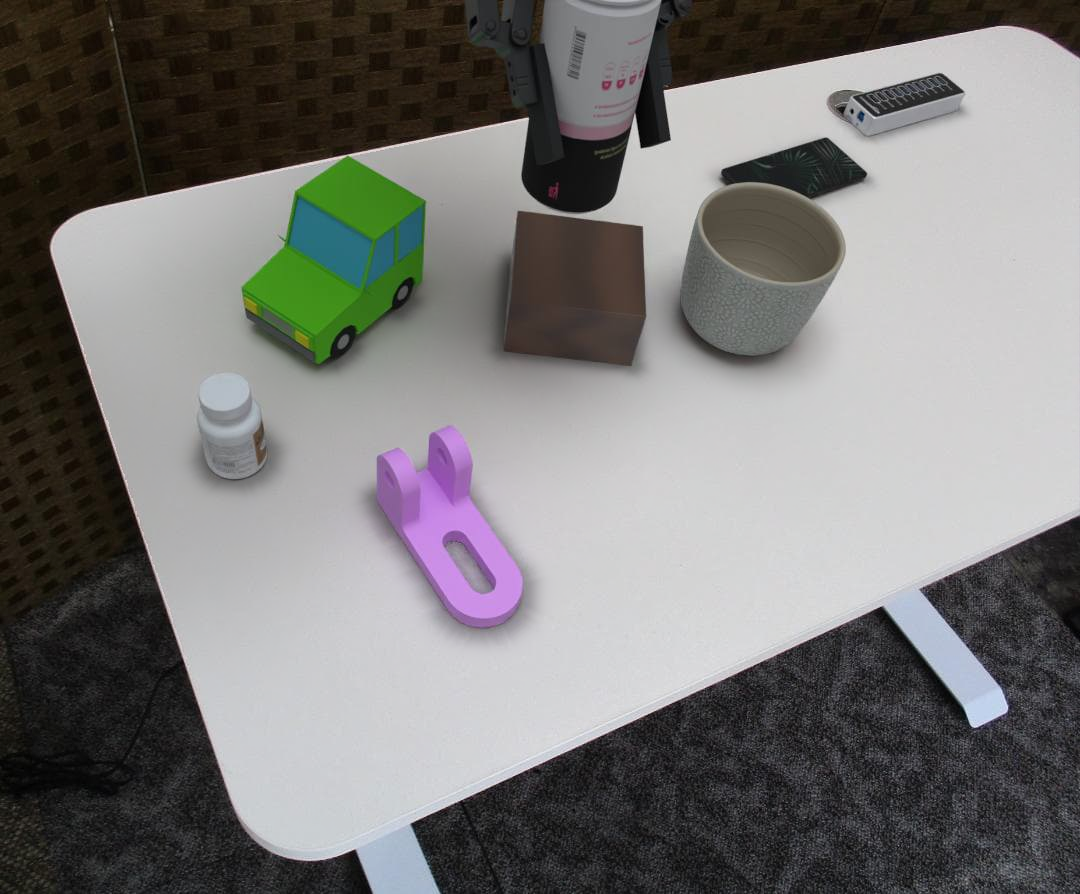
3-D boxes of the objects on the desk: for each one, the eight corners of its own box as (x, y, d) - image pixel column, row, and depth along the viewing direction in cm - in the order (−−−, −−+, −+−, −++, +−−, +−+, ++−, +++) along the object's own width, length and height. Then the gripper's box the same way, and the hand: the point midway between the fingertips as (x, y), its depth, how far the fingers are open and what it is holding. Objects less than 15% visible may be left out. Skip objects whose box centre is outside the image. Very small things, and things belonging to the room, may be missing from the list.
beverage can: (501, 172, 67) (526, -46, 56) (577, 145, 70) (616, -68, 58) (558, 230, 65) (597, 14, 53) (635, 199, 68) (689, -12, 56)
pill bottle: (277, 467, 74) (267, 402, 68) (219, 489, 72) (204, 424, 66) (254, 425, 76) (242, 358, 70) (197, 446, 74) (181, 379, 68)
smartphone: (869, 173, 104) (762, 209, 98) (865, 181, 105) (759, 217, 98) (826, 135, 107) (720, 167, 101) (823, 143, 108) (717, 176, 102)
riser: (503, 351, 84) (510, 300, 79) (510, 261, 90) (517, 210, 86) (631, 365, 85) (646, 316, 80) (629, 276, 91) (643, 225, 87)
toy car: (233, 323, 82) (217, 229, 74) (341, 242, 89) (338, 149, 81) (327, 385, 79) (321, 295, 71) (431, 297, 87) (436, 206, 79)
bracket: (377, 501, 73) (376, 445, 68) (442, 471, 76) (447, 415, 70) (467, 641, 68) (475, 592, 62) (535, 604, 70) (548, 554, 64)
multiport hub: (958, 110, 115) (967, 92, 113) (866, 136, 109) (875, 118, 108) (932, 88, 117) (941, 71, 115) (841, 113, 112) (848, 95, 110)
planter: (826, 328, 90) (873, 237, 82) (751, 399, 84) (793, 308, 76) (719, 256, 95) (753, 162, 86) (638, 318, 88) (667, 223, 80)
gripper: (656, -230, 63) (708, 140, 68) (357, -223, 57) (438, 184, 62) (717, -297, 56) (771, 121, 61) (385, -297, 50) (474, 168, 55)
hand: (604, 152), depth 61 cm, fingers closed on beverage can, 6 cm apart
